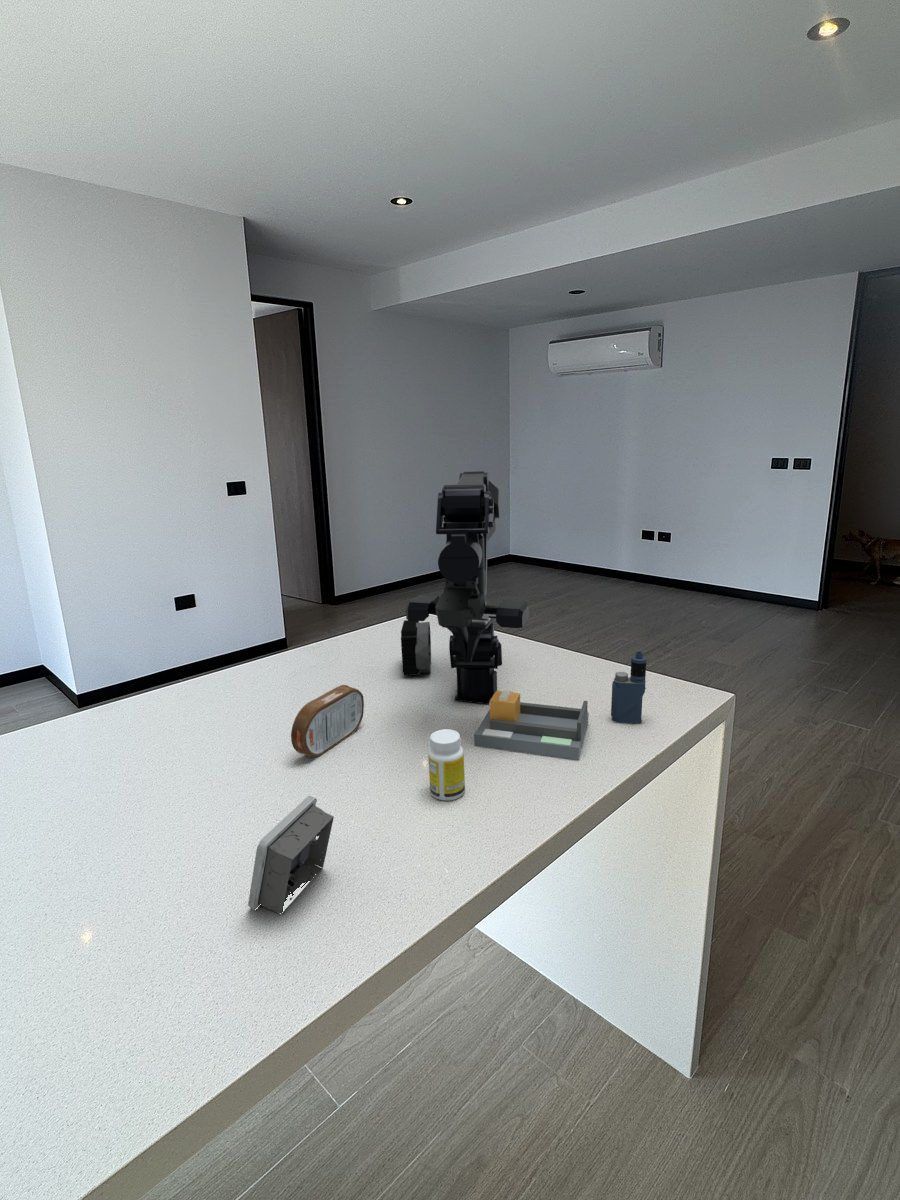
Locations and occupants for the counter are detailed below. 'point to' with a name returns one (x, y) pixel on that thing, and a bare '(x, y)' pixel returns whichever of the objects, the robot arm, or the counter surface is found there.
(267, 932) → the counter surface
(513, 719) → the block
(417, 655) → the cpu cooler
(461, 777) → the supplement bottle
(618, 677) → the vaping device
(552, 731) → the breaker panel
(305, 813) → the electrical switch
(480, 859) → the counter surface
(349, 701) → the tin
